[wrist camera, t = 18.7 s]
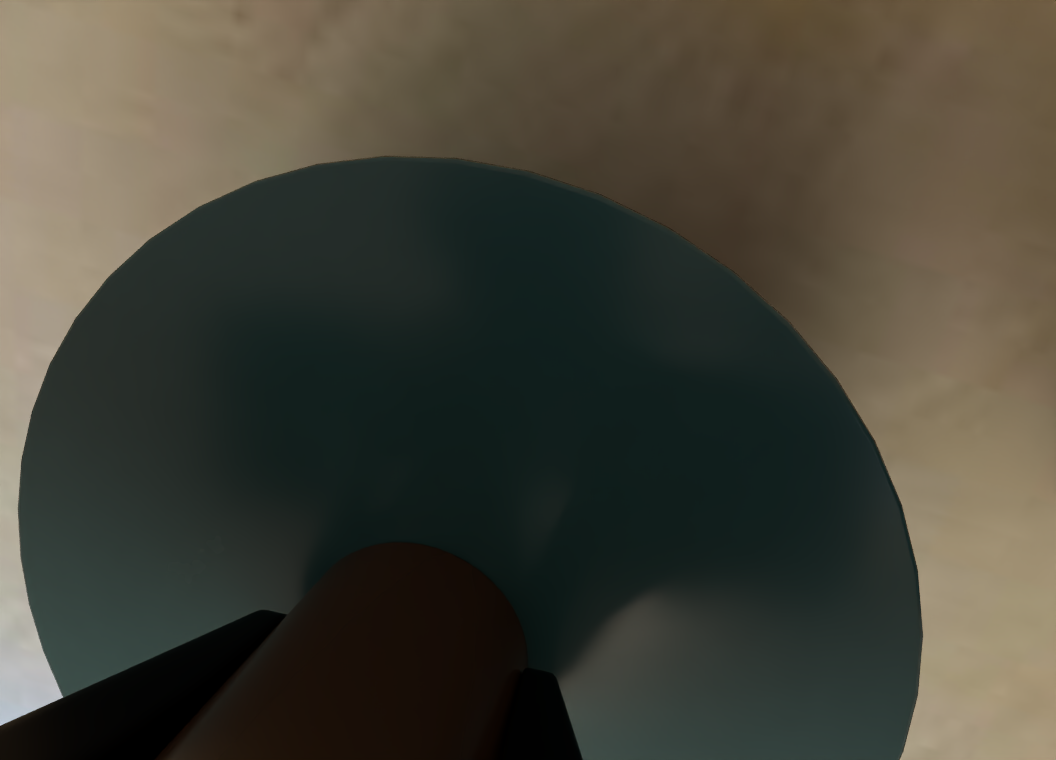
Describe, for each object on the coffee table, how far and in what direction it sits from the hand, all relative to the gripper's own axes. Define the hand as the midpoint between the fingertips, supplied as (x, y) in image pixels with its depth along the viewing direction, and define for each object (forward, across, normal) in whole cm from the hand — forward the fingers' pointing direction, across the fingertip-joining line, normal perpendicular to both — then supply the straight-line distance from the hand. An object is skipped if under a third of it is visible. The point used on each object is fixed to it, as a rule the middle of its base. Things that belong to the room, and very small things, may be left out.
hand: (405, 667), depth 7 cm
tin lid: (+1, 0, 0) cm, 1 cm away
